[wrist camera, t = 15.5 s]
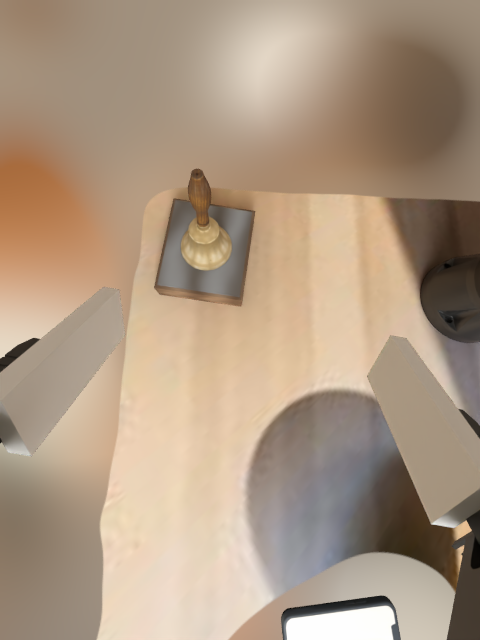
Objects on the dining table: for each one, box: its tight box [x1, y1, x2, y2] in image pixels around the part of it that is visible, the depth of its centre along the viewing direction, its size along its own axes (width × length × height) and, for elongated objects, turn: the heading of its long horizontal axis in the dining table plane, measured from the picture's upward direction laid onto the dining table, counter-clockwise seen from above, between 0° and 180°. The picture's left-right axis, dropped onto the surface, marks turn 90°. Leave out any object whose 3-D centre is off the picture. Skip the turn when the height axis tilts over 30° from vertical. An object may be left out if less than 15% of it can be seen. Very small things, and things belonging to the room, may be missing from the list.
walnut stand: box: [154, 199, 255, 306], centre depth 45 cm, size 14×16×4 cm
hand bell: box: [181, 169, 232, 271], centre depth 35 cm, size 8×8×16 cm
